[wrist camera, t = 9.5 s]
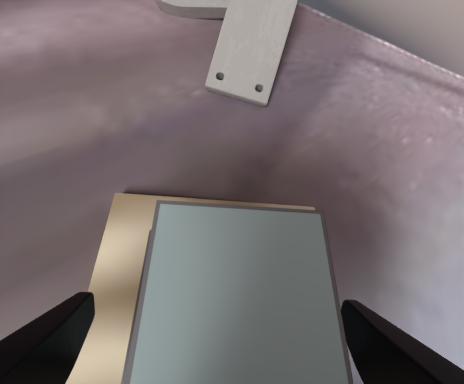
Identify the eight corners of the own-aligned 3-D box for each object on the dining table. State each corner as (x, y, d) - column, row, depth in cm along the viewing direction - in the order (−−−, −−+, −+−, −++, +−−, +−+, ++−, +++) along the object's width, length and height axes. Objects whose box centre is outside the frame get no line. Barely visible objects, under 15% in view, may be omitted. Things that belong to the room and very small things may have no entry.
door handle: (258, 123, 33) (300, -19, 33) (267, 104, 25) (323, -86, 25) (135, 87, 33) (175, -58, 32) (104, 55, 25) (157, -138, 24)
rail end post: (245, 349, 15) (361, 429, 4) (175, 349, 14) (114, 437, 4) (244, 278, 17) (323, 210, 6) (183, 275, 16) (156, 199, 6)
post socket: (347, 474, 14) (399, 529, 10) (42, 488, 12) (-24, 559, 8) (309, 211, 21) (332, 190, 17) (118, 198, 19) (101, 172, 16)
